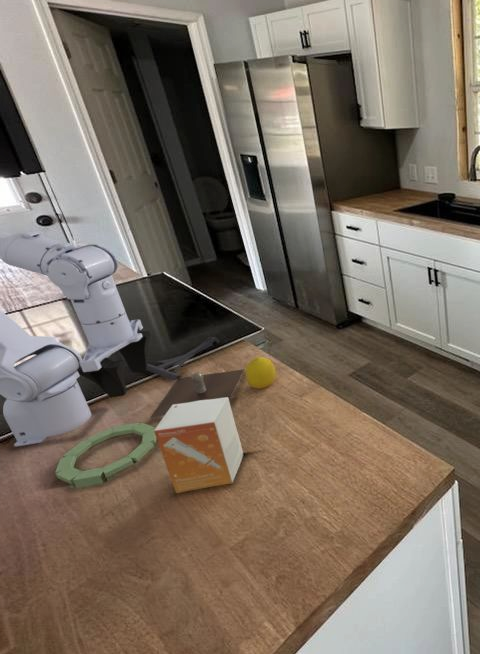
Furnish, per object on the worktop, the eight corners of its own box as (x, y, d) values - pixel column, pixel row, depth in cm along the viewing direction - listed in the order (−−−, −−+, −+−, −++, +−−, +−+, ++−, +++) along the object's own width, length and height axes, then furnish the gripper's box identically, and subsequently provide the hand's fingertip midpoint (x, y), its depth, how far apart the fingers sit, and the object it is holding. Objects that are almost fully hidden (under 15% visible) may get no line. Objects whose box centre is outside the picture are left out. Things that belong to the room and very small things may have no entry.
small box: (175, 495, 66) (151, 431, 61) (192, 464, 71) (171, 403, 66) (233, 484, 68) (214, 421, 63) (245, 455, 73) (228, 395, 69)
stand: (151, 421, 81) (143, 398, 79) (179, 381, 92) (172, 361, 90) (227, 409, 84) (221, 387, 82) (245, 372, 96) (240, 352, 94)
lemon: (265, 398, 88) (258, 366, 85) (243, 394, 89) (235, 363, 86) (284, 382, 93) (277, 352, 90) (262, 379, 94) (255, 349, 91)
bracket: (238, 350, 104) (235, 341, 103) (175, 384, 91) (171, 373, 90) (199, 339, 109) (197, 330, 108) (134, 369, 96) (131, 359, 95)
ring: (38, 495, 65) (34, 487, 64) (88, 438, 76) (84, 431, 75) (138, 476, 69) (135, 468, 68) (171, 424, 80) (169, 417, 79)
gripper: (107, 333, 65) (135, 403, 70) (151, 296, 78) (172, 357, 83) (51, 340, 63) (84, 411, 68) (106, 301, 76) (130, 363, 81)
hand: (129, 382), depth 75 cm, fingers open, 7 cm apart
